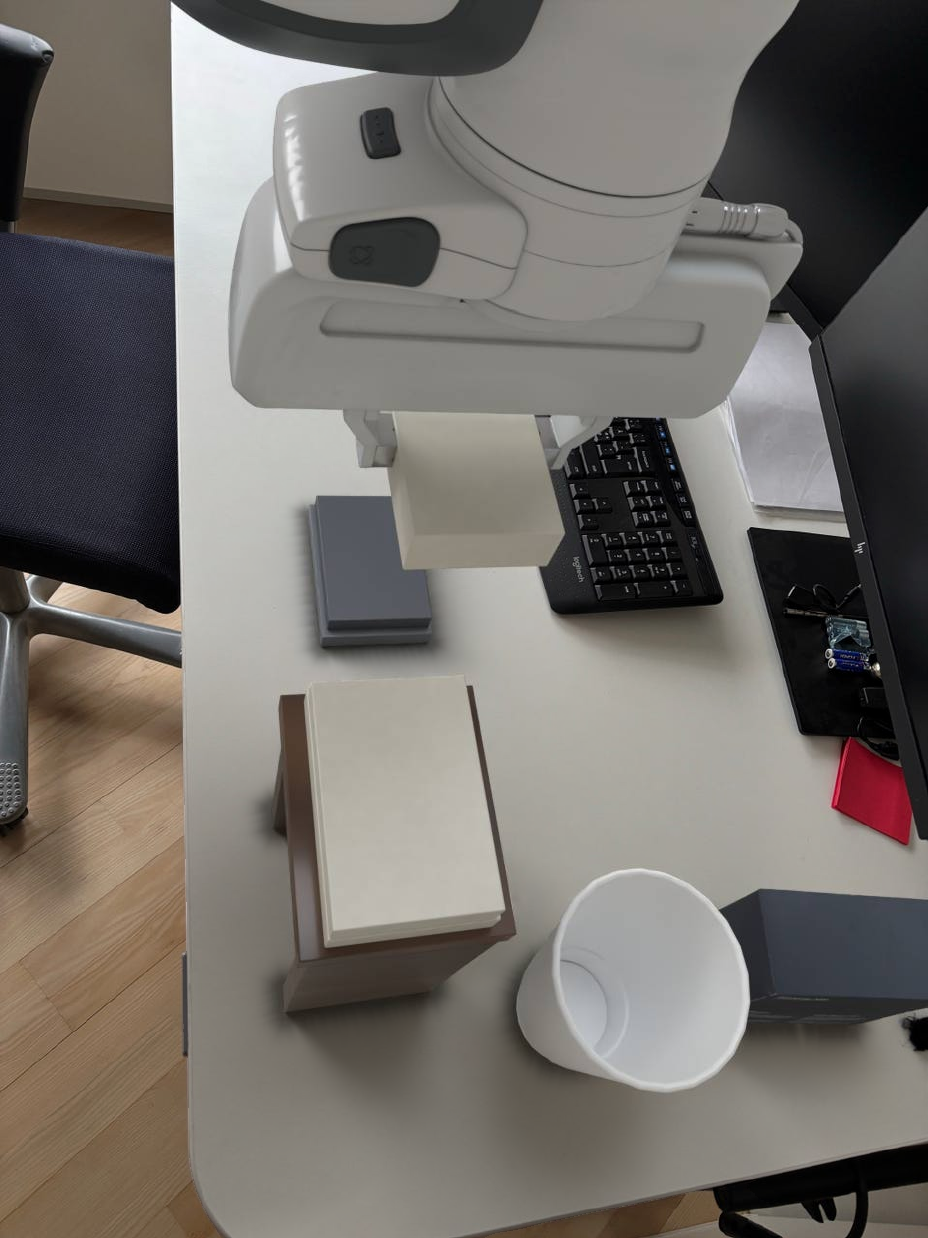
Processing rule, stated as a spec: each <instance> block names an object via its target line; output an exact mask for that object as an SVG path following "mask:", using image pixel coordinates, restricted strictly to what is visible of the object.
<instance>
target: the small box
mask: <svg viewBox="0 0 928 1238" xmlns="http://www.w3.org/2000/svg"><path fill="white" fill-rule="evenodd" d="M718 911H719V912H720V913H721V914H722V915H723V917H724V918H725V919H726V920H727V922H728V924H729V926H730V927H731V929H732V931H733V933H734V935H735V937H736V939H737V941H738V943H739V944H740V946H741V950H742V953H743V957H744V960H745V964H746V967H747V971H748V976H749V992H750V1006H749V1012H748V1018H747V1023H759V1024H761V1023H765V1024H796V1025H797V1024H799V1025H800V1024H802V1025H803V1024H804V1025H825V1026H826V1025H828V1026H829V1025H830V1026H856V1025H862V1024H865V1023H870V1022H874V1021H877V1020H878V1021H879V1020H881V1019H884V1018H889V1017H893V1016H897V1015H900V1014H904V1013H911V1012H915V1011H920V1010H925V1009H928V899H925V898H924V899H923V898H911V897H899V896H898V897H896V896H879V895H864V894H848V893H835V892H833V893H832V892H820V891H805V890H793V889H779V888H778V889H777V888H758V889H757V890H755V891H753V892H751V893H749V894H747V895H745V896H742V897H741V898H739V899H737V900H735V901H732V902H731V903H729V904H727V905H725V906H724V907H722V908H719V909H718Z"/></svg>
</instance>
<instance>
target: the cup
mask: <svg viewBox="0 0 928 1238" xmlns="http://www.w3.org/2000/svg"><path fill="white" fill-rule="evenodd" d="M718 910H719V909H718V908H717V907H716V906H715V905H714V904H713V902H712V901H711V900H710V899H709V898H708V897H707V896H706V895H704V894H703V893H701V892H700V891H699V890H698V889H697V888H695V887H694V886H693V885H691V884H690V883H688V882H687V881H684V880H683V879H681V878H678V877H676V876H674V875H671V874H670V873H667V872H665V871H659V870H654V869H648V868H641V867H638V868H629V869H628V868H627V869H621V870H620V869H619V870H613V871H611V872H608V873H607V874H604V875H603V876H599V877H597V878H596V879H593V880H592V881H590V882H589V883H588V884H587V885H586V886H585V887H584V888H582V889H581V890H580V891H579V892H578V893H577V894H575V895H574V897H573V898H572V900H571V901H570V902H569V905H568V906H567V907H566V909H565V910H564V913H562V915H561V917H560V919H559V921H558V922H557V924H556V925H555V927H554V928H553V930H552V931H551V932H550V934H549V935H548V937H547V938H546V939H545V941H544V943H543V944H542V945H541V947H540V948H539V950H537V952H536V954H535V955H534V957H533V958H532V960H531V961H530V962H529V964H528V966H527V967H526V969H525V970H524V972H523V975H522V978H521V982H520V985H519V989H518V991H517V995H516V1005H515V1006H516V1007H515V1011H516V1015H517V1022H518V1025H519V1027H520V1030H521V1032H522V1034H523V1037H524V1039H526V1041H527V1043H528V1044H529V1045H530V1046H531V1048H532V1049H534V1050H535V1051H536V1052H537V1053H538V1054H539V1055H541V1056H542V1057H544V1058H546V1059H547V1060H548V1061H550V1062H551V1063H552V1064H553V1063H554V1064H555V1065H557V1066H560V1067H562V1068H565V1069H567V1070H572V1071H575V1072H580V1073H583V1074H586V1075H591V1076H595V1077H598V1078H602V1079H606V1080H609V1081H614V1082H618V1083H622V1084H626V1085H628V1086H631V1087H632V1088H635V1089H637V1090H641V1091H648V1092H656V1093H663V1094H669V1093H673V1092H679V1091H685V1090H689V1089H694V1088H695V1087H697V1086H699V1085H701V1084H702V1083H704V1082H706V1081H708V1080H709V1079H711V1078H713V1077H714V1076H716V1075H717V1074H719V1072H720V1071H721V1070H722V1069H723V1068H724V1066H725V1065H727V1063H728V1062H729V1061H730V1060H731V1059H732V1057H733V1056H734V1055H735V1053H736V1051H737V1050H738V1047H739V1044H740V1043H741V1041H742V1038H743V1036H744V1034H745V1032H746V1028H747V1023H748V1022H747V1018H748V1012H749V1006H750V992H749V976H748V971H747V967H746V964H745V960H744V957H743V953H742V950H741V946H740V944H739V943H738V941H737V939H736V937H735V935H734V933H733V931H732V929H731V927H730V926H729V924H728V922H727V920H726V919H725V918H724V917H723V915H722V914H721V913H720V912H719V911H718Z"/></svg>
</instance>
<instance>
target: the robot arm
mask: <svg viewBox="0 0 928 1238" xmlns="http://www.w3.org/2000/svg"><path fill="white" fill-rule="evenodd" d="M169 1H170V2H171V3H172V4H173V5H174V6H176V7H177V8H178V9H179V10H180V11H182V12H183V13H184V14H186V15H187V16H189V17H190V18H191V19H192V20H194V21H196V22H197V23H199V24H200V25H202V26H203V27H205V28H206V29H208V30H210V31H212V32H214V33H215V34H217V35H219V36H220V37H223V38H224V39H227V40H229V41H230V42H233V43H236V44H237V45H240V46H243V47H245V48H249V49H252V50H254V51H258V52H261V53H265V54H269V55H274V56H278V57H284V58H288V59H294V60H299V61H305V62H311V63H317V64H322V65H329V66H335V67H341V68H348V69H356V70H363V71H368V72H369V71H370V72H371V73H366V74H361V75H356V76H351V77H346V78H341V79H336V80H329V81H324V82H318V83H312V84H307V85H303V86H299V87H296V88H293V89H291V90H289V91H287V92H286V93H284V94H283V95H282V96H281V97H280V98H279V100H278V102H277V105H276V108H275V113H274V114H275V115H274V123H273V132H272V176H271V177H269V178H268V179H267V180H266V181H264V182H263V183H262V184H261V185H260V186H259V187H258V189H257V190H256V191H255V192H254V194H253V196H252V198H251V200H250V201H249V203H248V205H247V207H246V210H245V212H244V216H243V219H242V222H241V227H240V231H239V234H238V240H237V244H236V249H235V254H234V260H233V265H232V271H231V279H230V289H229V298H228V309H227V311H228V312H227V345H228V346H227V347H228V364H229V373H230V381H231V385H232V388H233V389H234V391H236V393H238V394H239V395H240V396H241V397H242V398H243V399H244V400H245V401H246V402H247V403H249V404H250V405H251V406H253V407H254V408H258V409H284V410H285V409H287V410H289V409H290V410H292V409H293V410H295V409H296V410H328V411H329V410H330V411H342V415H343V416H342V417H343V422H344V423H345V424H346V425H347V427H348V428H349V430H350V431H351V433H352V434H353V435H354V436H355V450H356V455H357V456H356V457H357V464H358V467H359V468H360V469H371V468H387V467H389V468H391V467H392V466H393V463H394V460H393V458H394V457H395V455H396V451H397V447H398V445H397V439H396V433H395V432H394V421H393V416H392V414H384V413H380V411H404V412H443V413H483V414H523V415H534V416H535V419H536V423H537V427H538V431H539V435H540V439H541V442H542V446H543V450H544V454H545V458H546V462H547V465H548V469H549V470H561V469H562V468H563V467H564V465H565V463H566V461H567V459H568V458H569V455H570V453H571V452H572V449H576V448H578V447H580V446H581V445H582V444H584V443H586V442H587V441H588V440H590V439H593V438H594V437H595V436H597V435H598V434H600V433H601V432H603V431H605V430H606V429H607V428H609V427H610V425H611V424H612V422H613V420H614V418H641V419H643V418H645V419H647V418H648V419H650V418H651V419H681V420H682V419H685V420H691V419H697V418H699V417H701V416H704V415H705V414H708V413H709V412H710V411H712V410H714V409H715V408H717V407H719V406H720V405H722V404H723V403H724V402H725V400H726V399H727V398H728V396H729V395H730V393H731V392H732V390H733V388H734V387H735V385H736V383H737V382H738V380H739V378H740V376H741V374H742V373H743V371H744V369H745V367H746V365H747V363H748V361H749V359H750V357H751V355H752V353H753V351H754V349H755V346H756V345H757V342H758V340H759V337H760V335H761V334H762V331H763V329H764V326H765V324H766V321H767V318H768V315H769V312H770V307H771V301H772V300H774V299H775V298H776V297H777V295H778V294H780V292H781V291H782V289H783V288H784V286H785V285H786V283H787V282H788V281H789V278H790V277H791V275H792V274H793V272H794V271H795V269H796V268H797V267H798V265H799V263H800V261H801V258H802V257H803V251H804V248H803V244H804V240H803V239H804V238H803V233H802V231H801V229H800V227H799V226H798V225H797V223H795V222H793V221H792V220H790V219H789V214H788V212H787V210H785V208H782V207H780V206H777V205H774V204H770V203H760V202H757V203H756V202H755V203H749V204H739V203H733V202H729V201H724V200H721V199H717V198H710V197H704V196H702V194H703V192H704V191H705V188H706V186H707V184H708V182H709V180H710V178H711V176H712V173H713V172H714V170H715V168H716V166H717V164H718V162H719V160H720V158H721V156H722V153H723V151H724V148H725V145H726V143H727V140H728V137H729V133H730V128H731V122H732V118H733V112H734V107H735V103H736V99H737V96H738V94H739V92H740V91H739V90H740V87H741V86H742V83H743V82H744V79H745V78H746V76H747V73H748V71H749V69H750V68H751V66H752V65H753V63H754V62H755V60H756V59H757V58H758V56H759V55H760V54H761V52H762V51H763V50H764V49H765V47H766V46H767V45H768V44H769V42H770V41H772V39H773V38H774V37H775V36H776V35H777V34H778V32H780V30H781V29H782V28H783V27H784V26H785V24H786V23H787V21H788V20H789V19H790V17H791V16H792V15H793V12H794V11H795V9H796V7H797V5H798V3H799V2H800V0H169ZM537 416H538V417H537ZM539 416H543V417H539ZM544 416H545V417H544ZM546 416H547V417H546ZM549 416H550V417H549Z"/></svg>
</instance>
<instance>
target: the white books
mask: <svg viewBox="0 0 928 1238" xmlns="http://www.w3.org/2000/svg"><path fill="white" fill-rule="evenodd" d="M467 686H468V685H467V681H466V676H465V674H458V675H457V674H456V675H439V676H436V675H435V676H416V677H397V678H395V677H394V678H375V679H374V678H373V679H353V680H332V681H331V680H330V681H313V682H311V683H310V686H309V688H306V689H305V694H306V695H305V700H304V709H305V721H306V733H307V745H308V756H309V768H310V780H311V792H312V804H313V816H314V828H315V840H316V852H317V863H318V875H319V887H320V899H321V911H322V923H323V935H324V946H325V948H330V947H338V946H346V945H354V944H362V943H370V942H377V941H385V940H393V939H401V938H409V937H417V936H425V935H432V934H440V933H448V932H456V931H464V930H472V929H480V928H488V927H492V926H493V925H495V924H496V923H497V922H498V921H500V920H501V916H500V914H501V913H503V912H504V911H505V904H504V898H503V892H502V886H501V881H500V875H499V869H498V864H497V858H496V852H495V846H494V841H493V835H492V829H491V823H490V818H489V812H488V806H487V800H486V795H485V789H484V783H483V778H482V772H481V766H480V760H479V755H478V749H477V743H476V737H475V732H474V726H473V720H472V715H471V709H470V703H469V697H468V692H467Z"/></svg>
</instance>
